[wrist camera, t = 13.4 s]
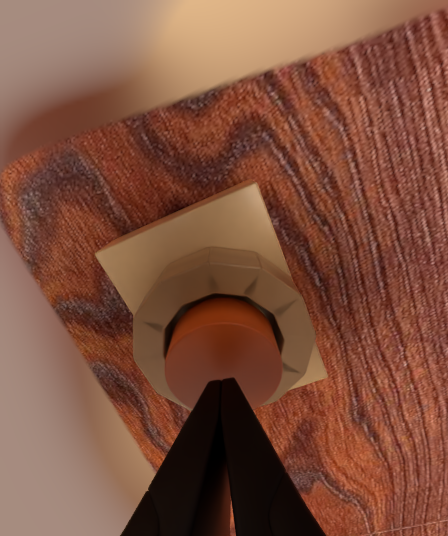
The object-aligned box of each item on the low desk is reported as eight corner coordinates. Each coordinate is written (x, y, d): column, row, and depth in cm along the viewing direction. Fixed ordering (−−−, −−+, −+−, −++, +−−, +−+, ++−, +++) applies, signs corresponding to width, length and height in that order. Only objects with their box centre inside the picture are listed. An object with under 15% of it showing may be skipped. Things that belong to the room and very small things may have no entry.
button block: (113, 239, 13) (69, 270, 9) (250, 178, 12) (264, 184, 8) (202, 387, 16) (196, 454, 12) (314, 348, 15) (344, 409, 11)
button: (154, 319, 10) (141, 348, 9) (252, 281, 10) (258, 304, 8) (198, 392, 12) (195, 430, 10) (287, 362, 11) (298, 396, 9)
